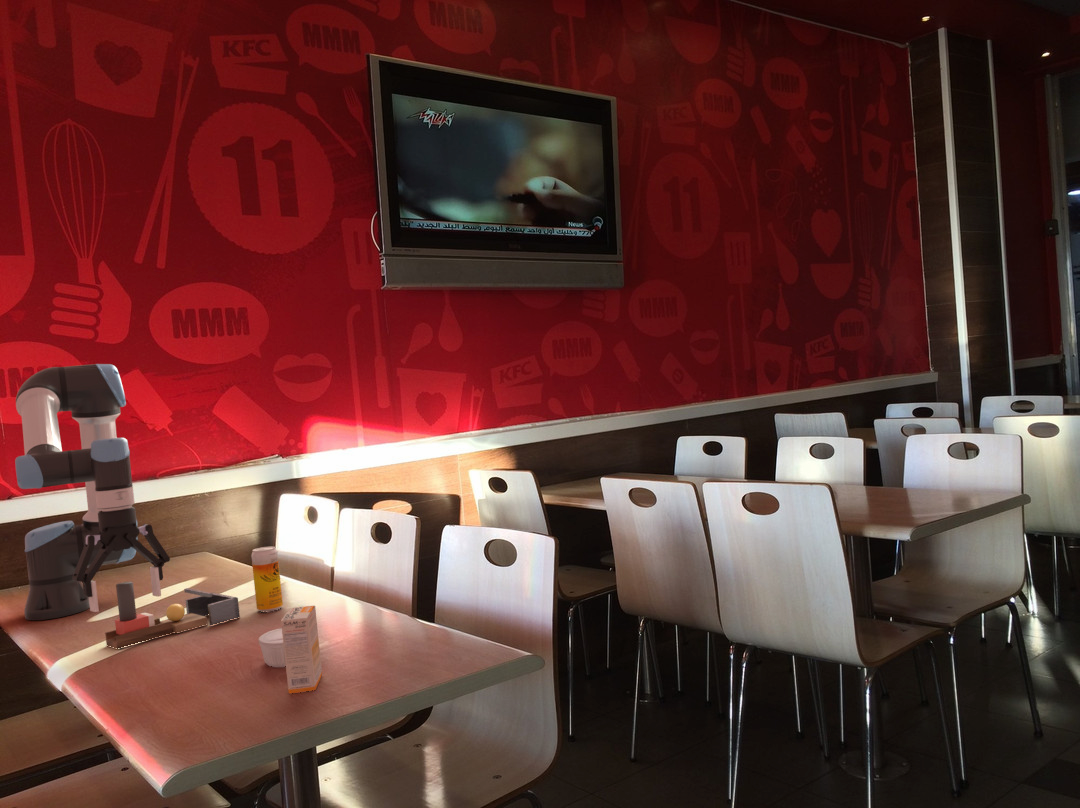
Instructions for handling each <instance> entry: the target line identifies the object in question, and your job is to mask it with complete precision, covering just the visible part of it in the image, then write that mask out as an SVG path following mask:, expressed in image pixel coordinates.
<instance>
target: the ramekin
mask: <svg viewBox="0 0 1080 808" xmlns="http://www.w3.org/2000/svg"><path fill="white" fill-rule="evenodd" d="M258 645H259V646H260V649H261V653H262V657H263V660H264V663H265V664H266V665H267V666H269V667H271V666H272V667H271V668H286V667H285V666H286V663H285V654H284V644H283V635H282V627H281V628H276V629H273V630H269V631H266V632H265V633H263V634H262V635H260V636H259V637H258Z"/></svg>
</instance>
